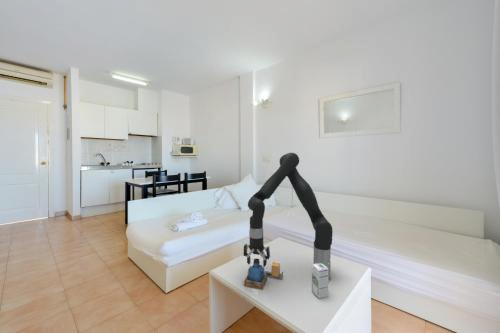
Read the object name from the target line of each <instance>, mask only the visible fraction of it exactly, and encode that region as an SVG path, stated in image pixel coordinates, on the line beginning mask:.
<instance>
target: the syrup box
mask: <svg viewBox="0 0 500 333" xmlns="http://www.w3.org/2000/svg"><path fill="white" fill-rule="evenodd" d="M311 265H312V266H311V267H312V269H311V270H312V272H311V276H312V277H311V278H312V279H311V292H312V293H313V294H314V296H316V297H317V299H323V298H324V299H325V298H328V297H329V280H328V268H327V267H326V266H325V265H323V264H322V263H316V264H311Z"/></svg>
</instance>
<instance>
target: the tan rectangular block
mask: <svg viewBox="0 0 500 333" xmlns="http://www.w3.org/2000/svg"><path fill="white" fill-rule="evenodd" d="M270 270H271V271H266V270H265V271H266V274H271V276H275V277H279V274H281V272H280V271H281V264H280V262H275V261H273V262H272V264H271V269H270Z"/></svg>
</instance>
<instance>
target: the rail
mask: <svg viewBox="0 0 500 333" xmlns="http://www.w3.org/2000/svg"><path fill="white" fill-rule="evenodd" d="M251 267H252V265H250V266H249V267H248V269H247V275H248V274H249V270H250V268H251ZM264 273H265V274H266V270H264ZM267 278H270V279H273V280H275V279H276V280H279V281H280V280H281V281H283V278H284V271H281V272H280V274H279V277H275V276H271V274H267Z"/></svg>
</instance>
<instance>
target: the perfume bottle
mask: <svg viewBox="0 0 500 333" xmlns="http://www.w3.org/2000/svg"><path fill="white" fill-rule="evenodd" d="M260 263H261V262H260V259H259V258H254V259H253V265H251V268H250V270H249V280H251V281H255V282H260V283H261V282H262V280H263V278H264V271H265V268H264V267H263V265H262V264H260Z"/></svg>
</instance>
